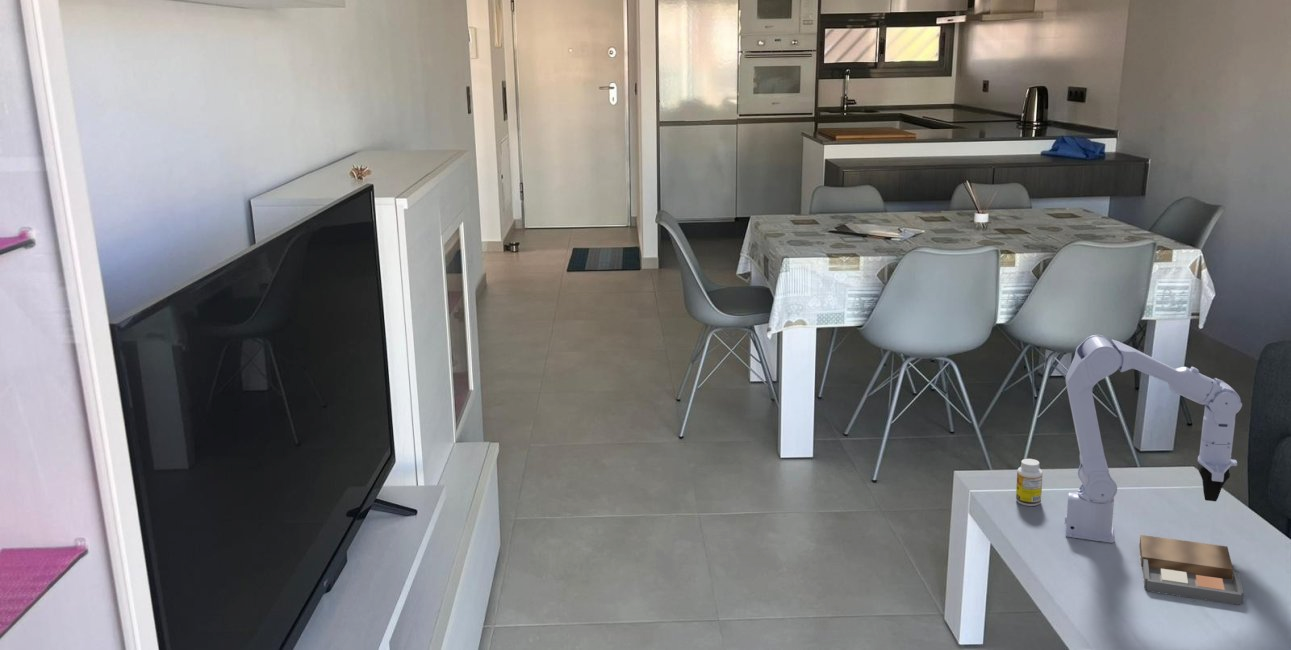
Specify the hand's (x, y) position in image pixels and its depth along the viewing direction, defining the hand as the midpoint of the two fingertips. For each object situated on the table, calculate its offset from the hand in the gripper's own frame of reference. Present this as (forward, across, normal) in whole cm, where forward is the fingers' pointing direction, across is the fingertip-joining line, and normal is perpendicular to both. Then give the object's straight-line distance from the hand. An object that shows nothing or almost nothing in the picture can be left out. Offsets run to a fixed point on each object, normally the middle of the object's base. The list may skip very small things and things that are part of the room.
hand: (1210, 499), depth 205 cm
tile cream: (+7, -22, +8) cm, 25 cm away
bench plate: (+9, -12, +5) cm, 16 cm away
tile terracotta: (+7, -23, +2) cm, 24 cm away
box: (+9, -21, +4) cm, 24 cm away
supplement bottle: (+10, +8, +36) cm, 38 cm away
